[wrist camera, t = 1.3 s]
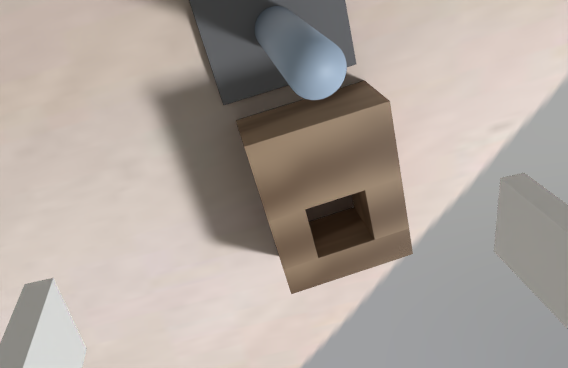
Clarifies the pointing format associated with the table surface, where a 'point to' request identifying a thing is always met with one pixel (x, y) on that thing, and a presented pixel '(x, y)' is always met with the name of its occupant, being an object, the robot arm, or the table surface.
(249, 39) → the mat
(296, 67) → the dowel
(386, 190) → the socket block
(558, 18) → the table surface
